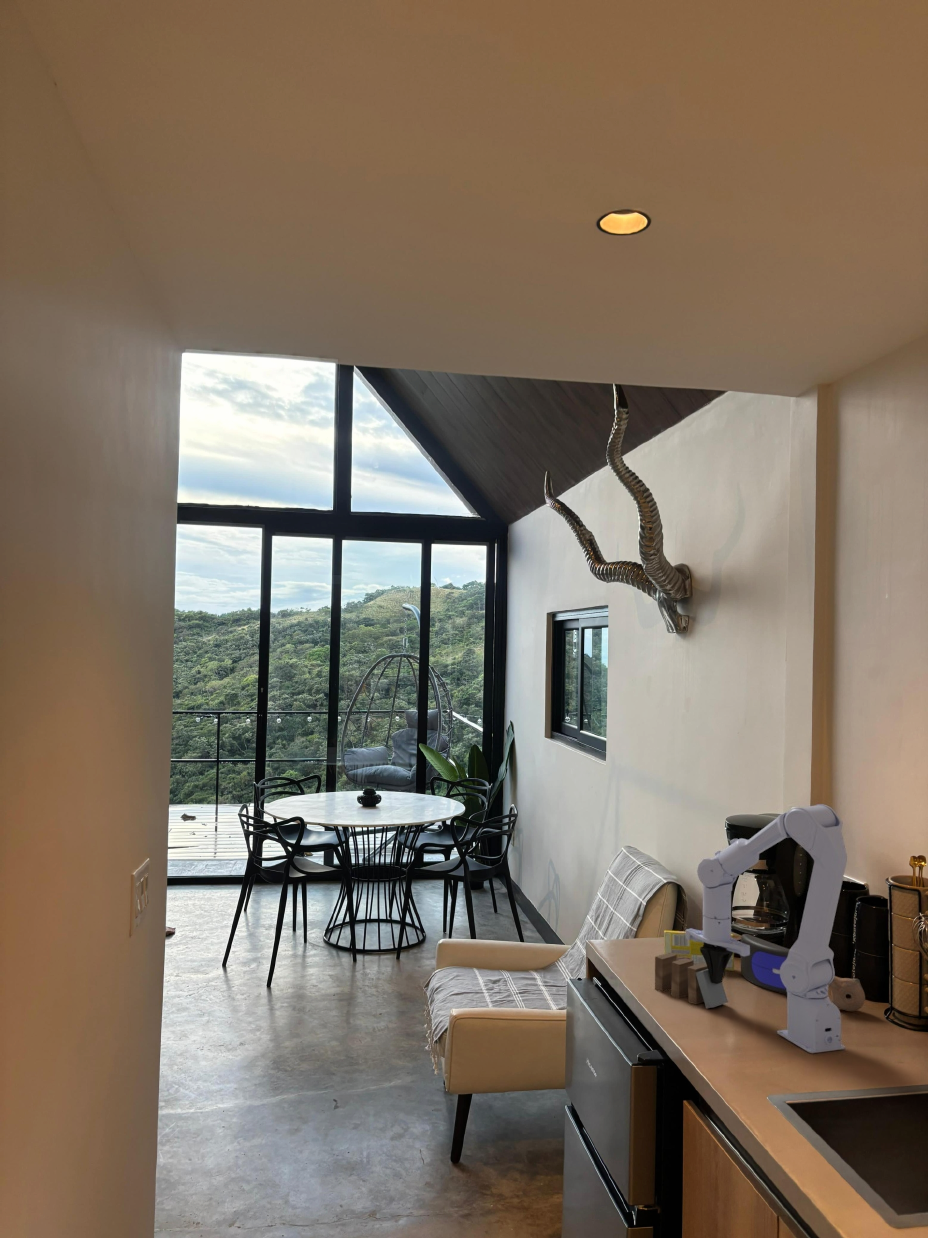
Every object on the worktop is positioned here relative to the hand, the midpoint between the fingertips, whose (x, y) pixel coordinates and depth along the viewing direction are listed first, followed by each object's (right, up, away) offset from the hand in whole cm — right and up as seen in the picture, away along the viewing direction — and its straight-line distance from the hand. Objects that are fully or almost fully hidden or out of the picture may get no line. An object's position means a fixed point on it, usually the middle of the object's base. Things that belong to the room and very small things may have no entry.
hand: (716, 982), depth 177 cm
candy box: (+3, -7, +25) cm, 26 cm away
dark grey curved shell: (+16, -7, +14) cm, 22 cm away
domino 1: (-8, -6, +10) cm, 14 cm away
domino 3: (-3, -5, +3) cm, 6 cm away
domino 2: (-5, -5, +6) cm, 10 cm away
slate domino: (0, -5, -1) cm, 5 cm away
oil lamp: (+26, -6, 0) cm, 27 cm away
